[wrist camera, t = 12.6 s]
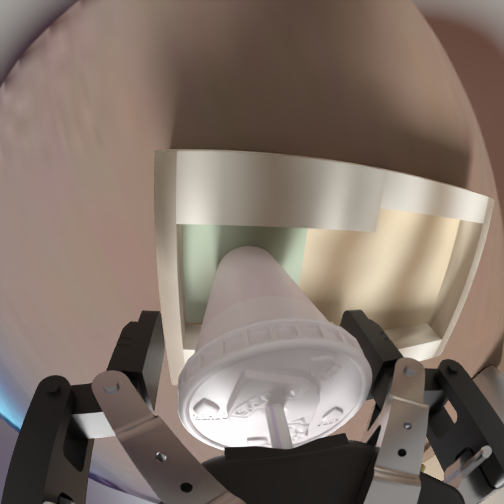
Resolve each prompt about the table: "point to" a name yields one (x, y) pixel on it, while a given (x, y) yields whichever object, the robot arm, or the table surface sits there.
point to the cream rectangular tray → (317, 240)
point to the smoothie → (268, 362)
